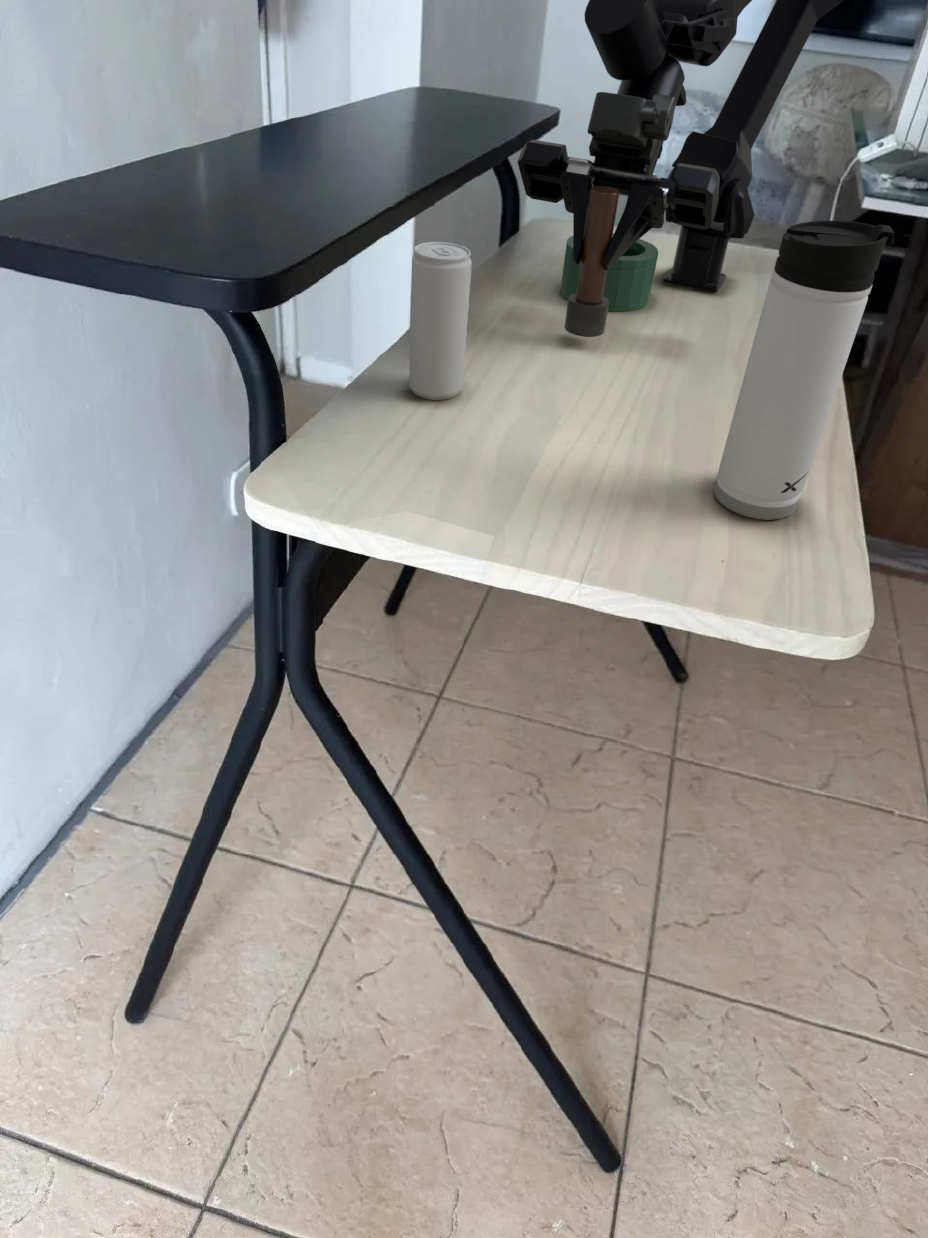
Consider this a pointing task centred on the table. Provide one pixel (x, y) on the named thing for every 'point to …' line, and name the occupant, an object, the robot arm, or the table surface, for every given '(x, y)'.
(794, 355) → the travel mug
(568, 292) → the jar
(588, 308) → the brush
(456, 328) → the beverage can
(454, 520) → the table surface
